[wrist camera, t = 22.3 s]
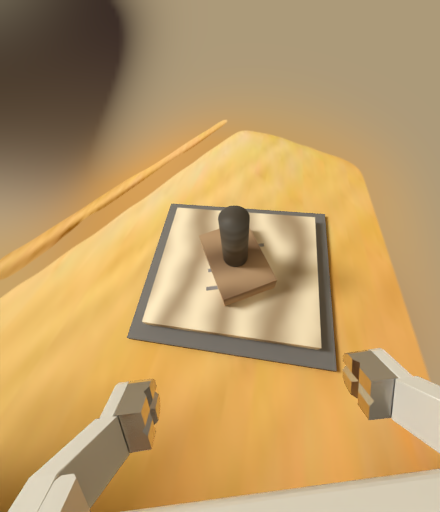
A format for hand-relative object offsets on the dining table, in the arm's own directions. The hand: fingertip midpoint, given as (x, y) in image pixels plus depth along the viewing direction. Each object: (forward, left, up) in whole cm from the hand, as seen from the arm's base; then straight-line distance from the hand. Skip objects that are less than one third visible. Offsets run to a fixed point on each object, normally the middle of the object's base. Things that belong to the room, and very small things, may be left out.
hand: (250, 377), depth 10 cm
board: (-3, +14, -19) cm, 24 cm away
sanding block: (-3, +14, -18) cm, 23 cm away
